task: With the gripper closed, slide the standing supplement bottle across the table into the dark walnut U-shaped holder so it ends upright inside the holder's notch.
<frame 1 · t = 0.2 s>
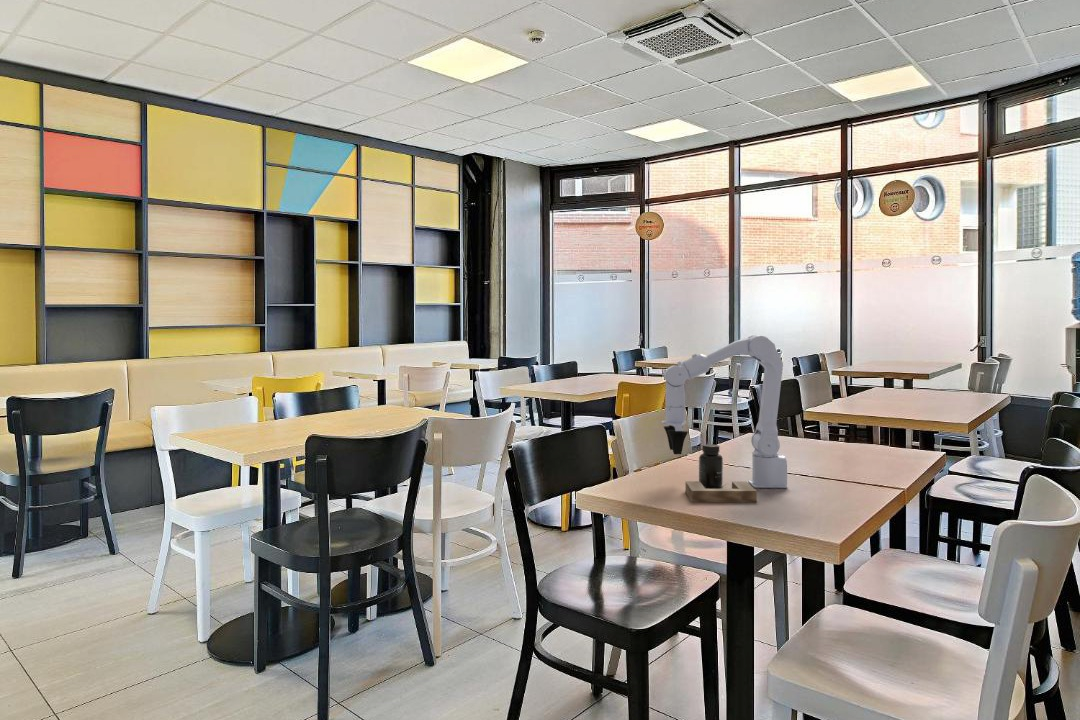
hand: (675, 451, 207), 10 cm above the table, tool pointing down, fingers open, 7 cm apart
walnut holder: (719, 495, 193), on the table
supplement bottle: (710, 486, 205), on the table
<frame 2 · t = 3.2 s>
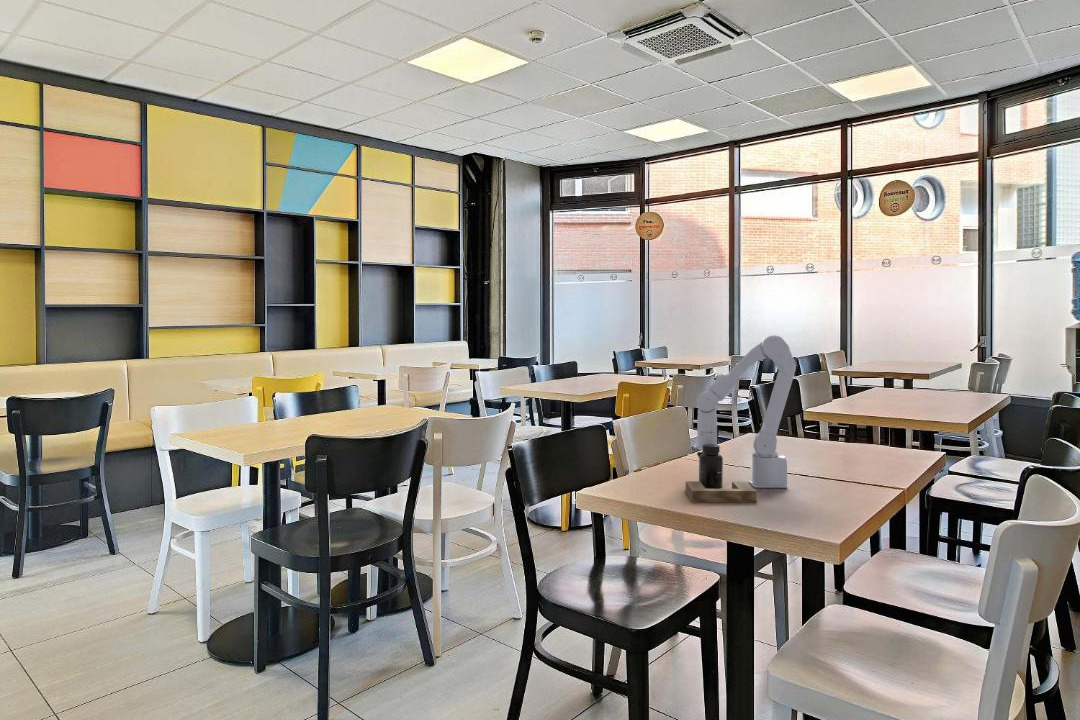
hand: (707, 476, 211), 2 cm above the table, tool pointing down, fingers closed
supplement bottle: (710, 486, 205), on the table, touching gripper
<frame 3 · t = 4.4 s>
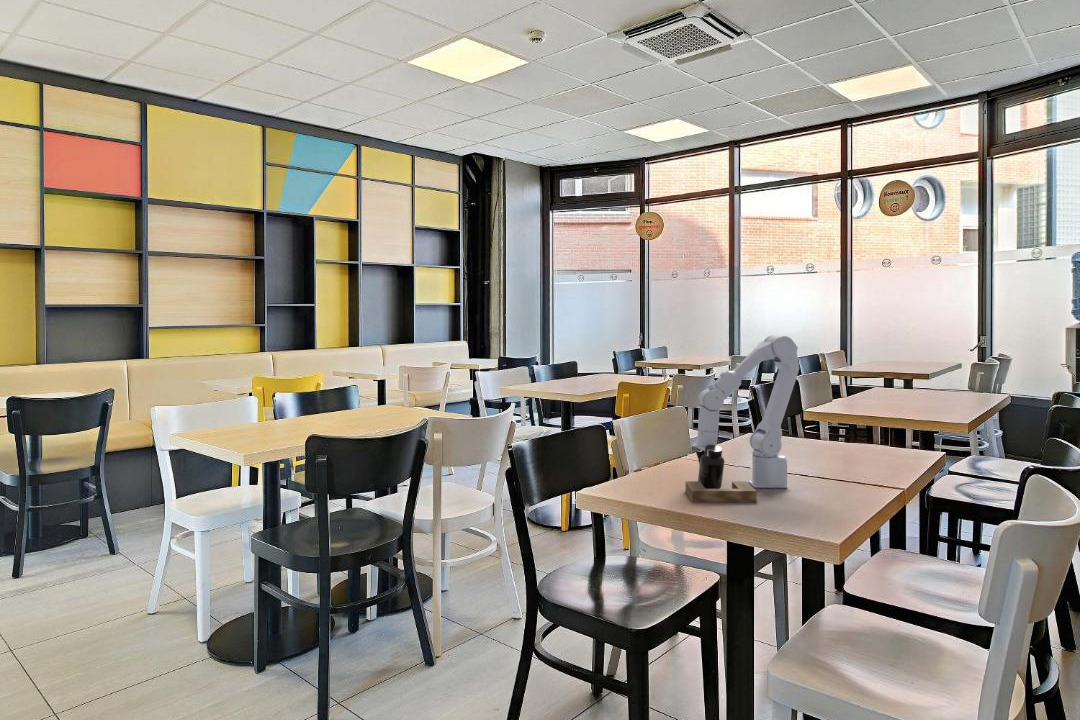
hand: (704, 476, 204), 3 cm above the table, tool pointing down, fingers closed, pressing on supplement bottle
supplement bottle: (709, 486, 202), point 1 cm above the table, touching gripper
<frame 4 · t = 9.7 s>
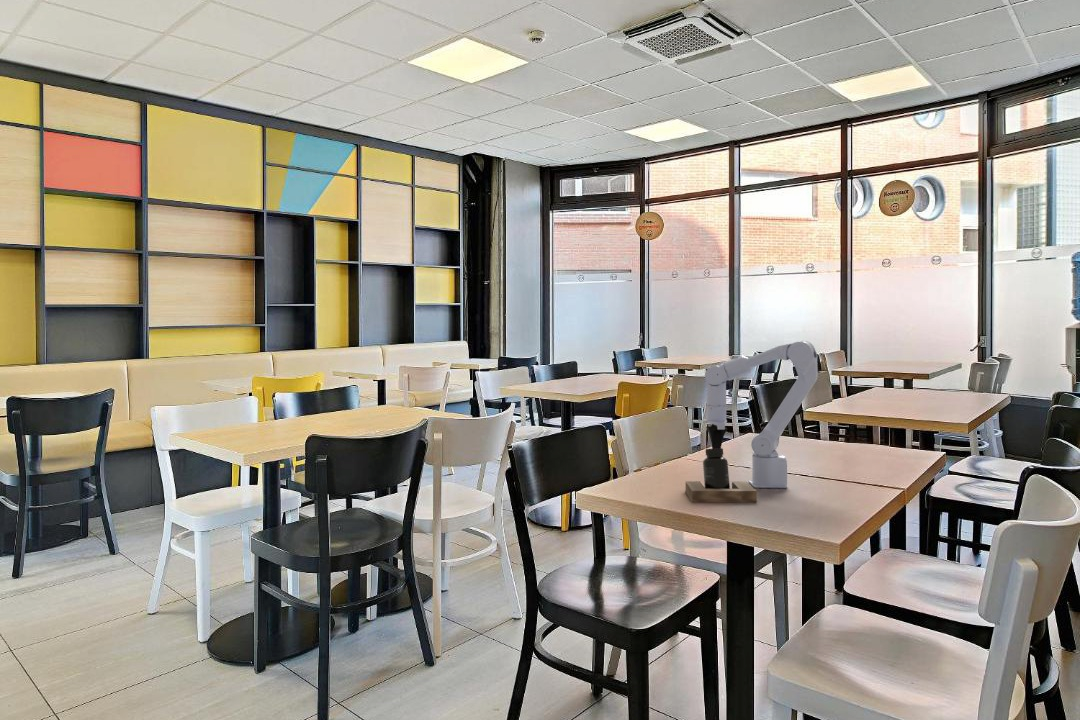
hand: (716, 449, 211), 9 cm above the table, tool pointing down, fingers closed
supplement bottle: (717, 492, 195), on the table
at the end: supplement bottle 2.0 cm off-centre on the walnut holder, point 0.0 cm above the walnut holder's base; supplement bottle tilted 3° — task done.
